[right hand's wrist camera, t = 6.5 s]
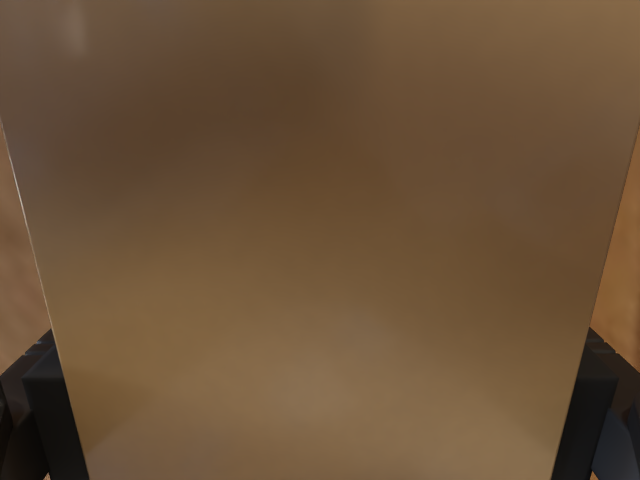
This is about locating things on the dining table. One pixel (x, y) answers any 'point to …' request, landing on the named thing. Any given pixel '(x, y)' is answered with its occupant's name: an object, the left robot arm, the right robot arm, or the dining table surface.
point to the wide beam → (320, 225)
